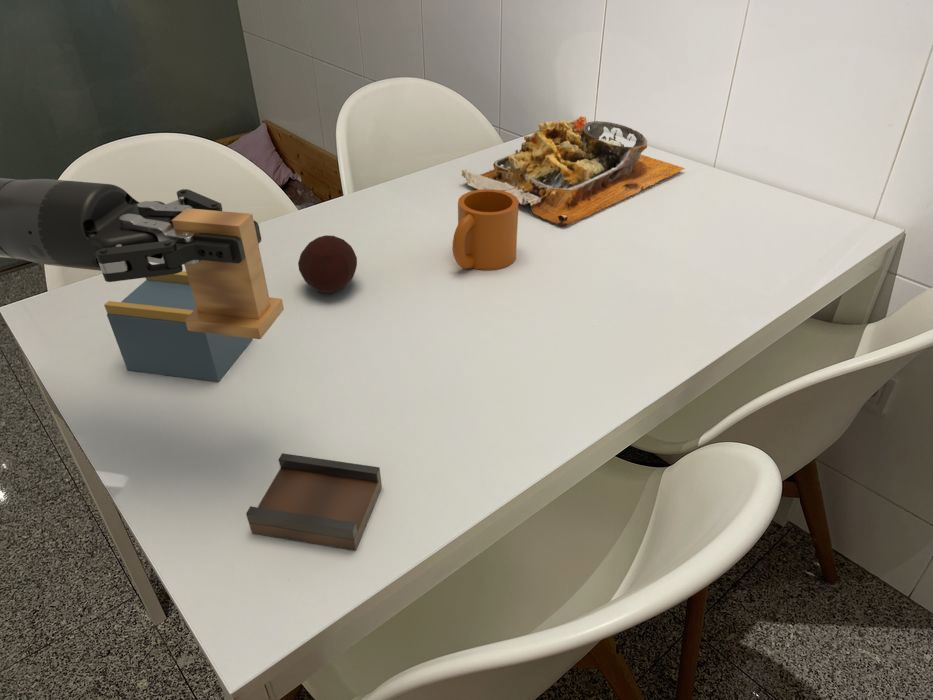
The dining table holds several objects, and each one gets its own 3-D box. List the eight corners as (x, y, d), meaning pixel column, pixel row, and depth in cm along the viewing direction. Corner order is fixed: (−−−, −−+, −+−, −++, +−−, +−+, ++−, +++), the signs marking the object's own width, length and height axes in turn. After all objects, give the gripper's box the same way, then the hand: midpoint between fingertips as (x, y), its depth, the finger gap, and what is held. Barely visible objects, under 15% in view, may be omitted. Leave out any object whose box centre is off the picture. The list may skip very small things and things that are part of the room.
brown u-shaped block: (251, 533, 64) (245, 513, 62) (286, 472, 70) (281, 452, 68) (355, 551, 62) (352, 530, 60) (382, 486, 68) (379, 466, 66)
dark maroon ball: (357, 269, 103) (351, 221, 99) (362, 301, 96) (357, 251, 91) (302, 275, 102) (293, 227, 97) (303, 308, 95) (294, 257, 90)
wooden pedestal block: (187, 330, 62) (157, 226, 56) (215, 301, 66) (189, 201, 60) (260, 339, 61) (237, 233, 55) (284, 309, 65) (264, 207, 59)
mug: (429, 261, 105) (427, 205, 100) (489, 237, 111) (490, 183, 106) (468, 284, 99) (467, 226, 94) (529, 257, 105) (531, 202, 100)
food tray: (580, 139, 147) (585, 87, 141) (685, 172, 132) (695, 115, 126) (458, 185, 128) (456, 127, 122) (563, 230, 113) (568, 166, 107)
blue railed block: (127, 370, 84) (102, 305, 78) (167, 329, 91) (148, 266, 85) (218, 382, 82) (200, 316, 76) (253, 338, 89) (238, 275, 83)
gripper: (-9, 218, 54) (197, 238, 51) (103, 154, 65) (278, 167, 62) (28, 301, 58) (219, 324, 55) (127, 228, 69) (291, 244, 66)
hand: (249, 241), depth 58 cm, fingers closed on wooden pedestal block, 2 cm apart
